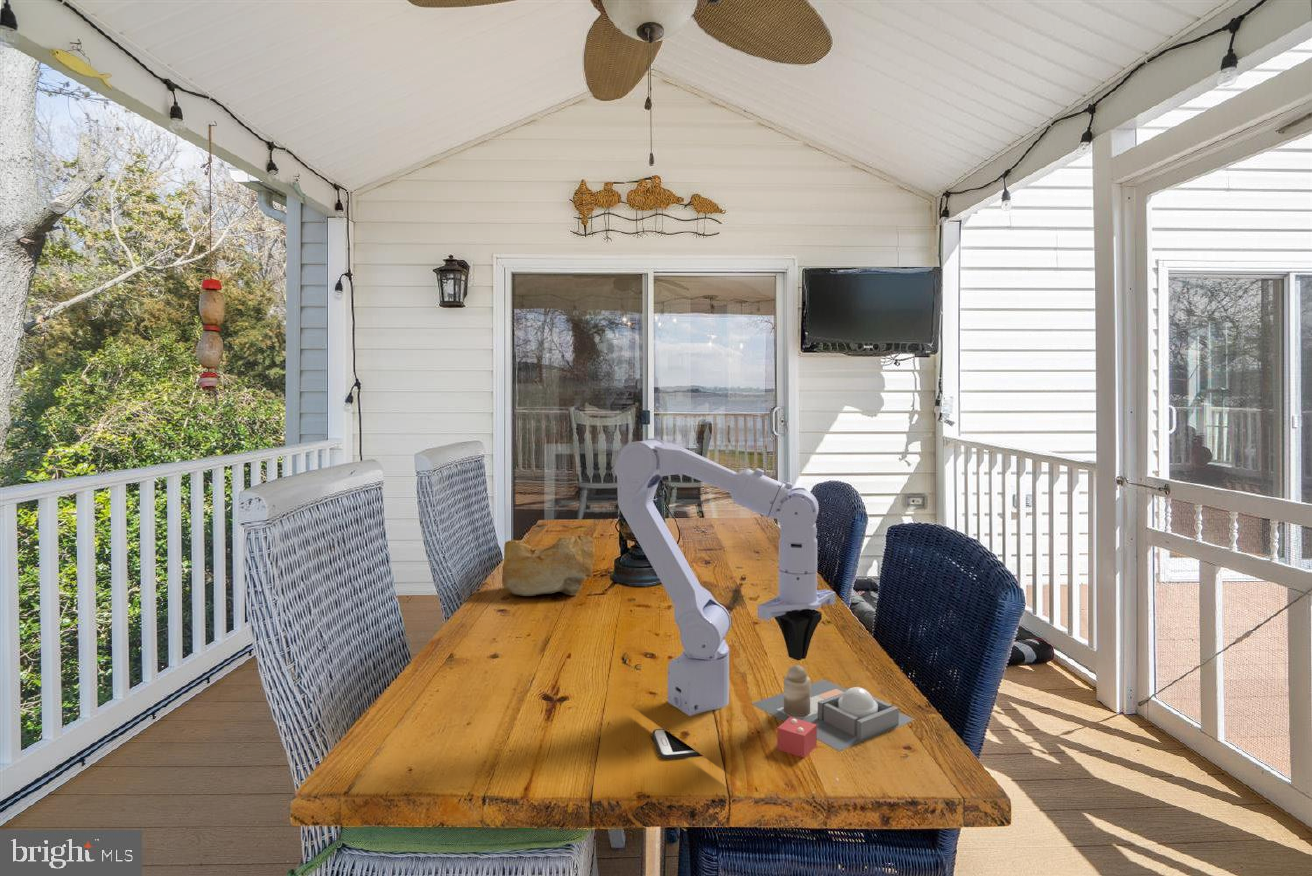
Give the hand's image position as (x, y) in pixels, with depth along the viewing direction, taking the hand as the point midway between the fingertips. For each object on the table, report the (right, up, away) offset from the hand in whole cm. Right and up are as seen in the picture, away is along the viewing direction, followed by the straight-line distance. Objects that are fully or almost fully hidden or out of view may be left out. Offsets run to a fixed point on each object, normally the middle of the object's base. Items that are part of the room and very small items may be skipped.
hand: (797, 657), depth 107 cm
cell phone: (-14, -11, -7) cm, 19 cm away
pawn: (0, -8, +1) cm, 8 cm away
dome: (+8, -8, -3) cm, 12 cm away
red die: (-2, -10, -10) cm, 15 cm away
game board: (+5, -9, 0) cm, 11 cm away
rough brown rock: (-48, -6, +72) cm, 87 cm away
